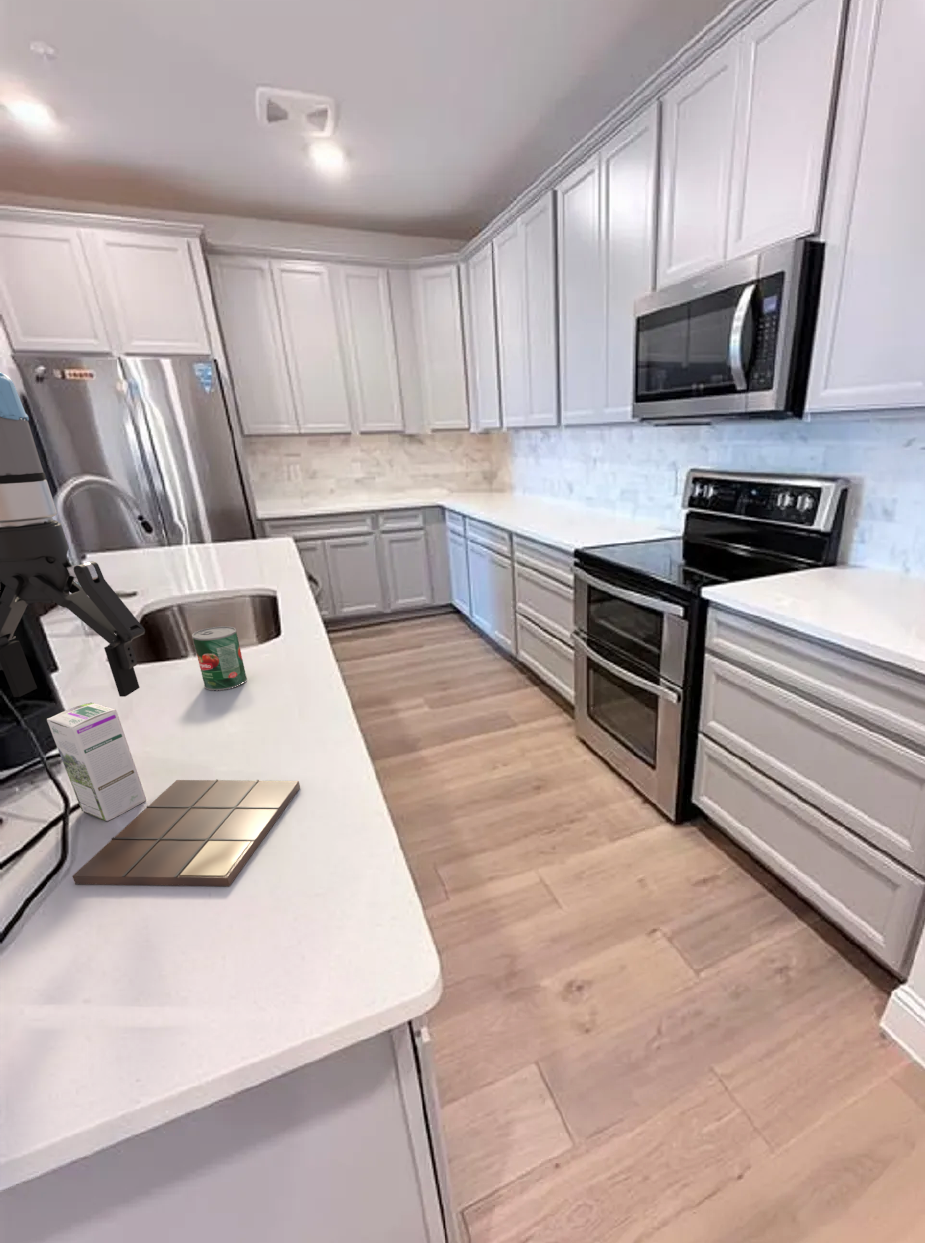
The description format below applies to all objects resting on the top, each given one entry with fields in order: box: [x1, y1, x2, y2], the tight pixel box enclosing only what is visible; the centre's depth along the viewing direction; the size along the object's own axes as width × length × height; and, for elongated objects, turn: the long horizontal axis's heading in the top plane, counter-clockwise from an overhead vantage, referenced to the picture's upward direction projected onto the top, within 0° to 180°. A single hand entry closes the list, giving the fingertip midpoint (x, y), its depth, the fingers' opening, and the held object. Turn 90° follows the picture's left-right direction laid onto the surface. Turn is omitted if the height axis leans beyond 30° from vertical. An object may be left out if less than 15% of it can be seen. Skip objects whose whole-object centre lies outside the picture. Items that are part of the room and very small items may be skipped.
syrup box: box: [46, 702, 147, 822], centre depth 79 cm, size 6×6×14 cm
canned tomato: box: [191, 625, 248, 691], centre depth 119 cm, size 8×8×11 cm
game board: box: [71, 779, 301, 887], centre depth 76 cm, size 18×20×1 cm
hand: (77, 692), depth 75 cm, fingers open, 13 cm apart
